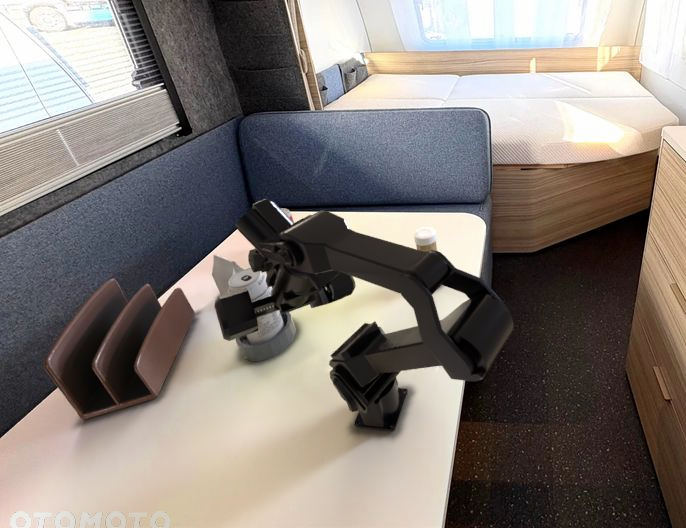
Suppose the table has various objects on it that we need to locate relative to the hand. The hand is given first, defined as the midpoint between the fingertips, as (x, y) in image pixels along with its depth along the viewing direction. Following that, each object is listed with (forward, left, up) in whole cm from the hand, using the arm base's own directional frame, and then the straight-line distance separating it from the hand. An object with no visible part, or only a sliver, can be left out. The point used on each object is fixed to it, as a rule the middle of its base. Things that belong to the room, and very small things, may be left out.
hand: (283, 315), depth 65 cm
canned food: (+29, +22, -11) cm, 38 cm away
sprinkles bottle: (+21, -19, -11) cm, 30 cm away
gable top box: (+14, +23, -11) cm, 29 cm away
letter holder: (-3, +28, -11) cm, 30 cm away
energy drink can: (+3, +8, -10) cm, 13 cm away
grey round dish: (+3, +8, -10) cm, 14 cm away
